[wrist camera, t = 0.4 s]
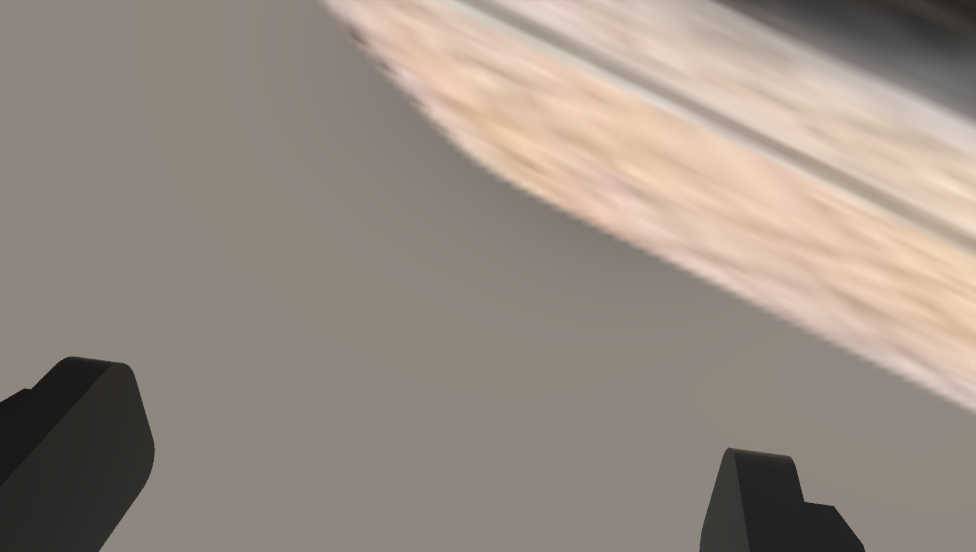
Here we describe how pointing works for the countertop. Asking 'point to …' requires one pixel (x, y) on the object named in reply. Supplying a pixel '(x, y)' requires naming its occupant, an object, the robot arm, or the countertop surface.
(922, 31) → the countertop surface
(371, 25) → the countertop surface
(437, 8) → the countertop surface
